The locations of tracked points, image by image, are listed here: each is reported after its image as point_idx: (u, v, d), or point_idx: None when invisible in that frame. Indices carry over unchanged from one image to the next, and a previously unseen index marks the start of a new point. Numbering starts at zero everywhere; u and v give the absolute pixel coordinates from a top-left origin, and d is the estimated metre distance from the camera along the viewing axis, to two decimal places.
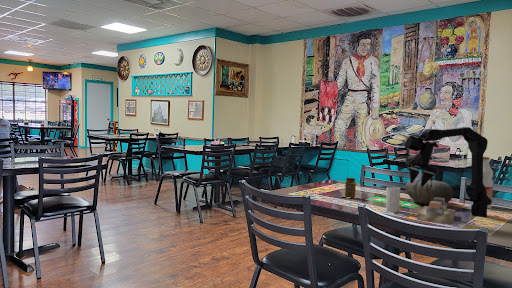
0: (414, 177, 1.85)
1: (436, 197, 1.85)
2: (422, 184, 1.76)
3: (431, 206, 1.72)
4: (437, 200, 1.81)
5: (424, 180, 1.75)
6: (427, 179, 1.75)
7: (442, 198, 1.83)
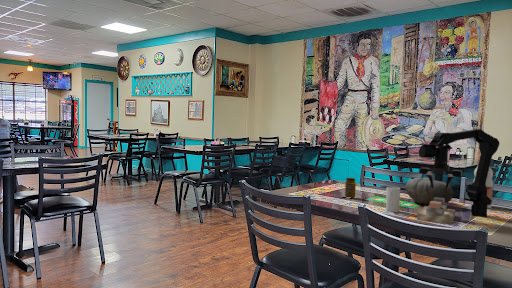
0: (433, 182, 1.85)
1: (436, 197, 1.85)
2: None
3: (431, 206, 1.72)
4: (437, 200, 1.81)
5: (448, 184, 1.80)
6: None
7: (442, 198, 1.83)
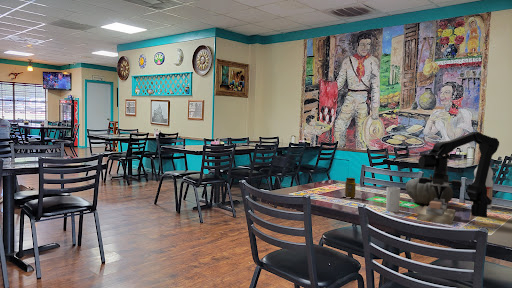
0: None
1: (436, 198, 1.85)
2: (440, 197, 1.82)
3: (431, 206, 1.72)
4: (437, 201, 1.81)
5: (441, 193, 1.82)
6: None
7: (442, 199, 1.83)
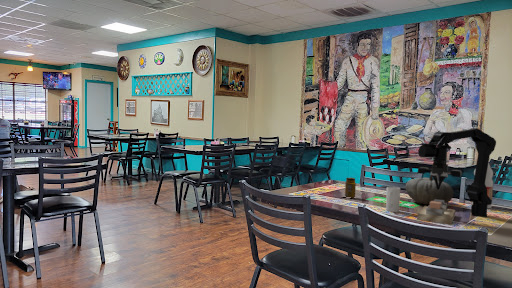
0: (438, 182, 1.81)
1: (436, 199, 1.85)
2: (439, 187, 1.80)
3: (431, 206, 1.72)
4: None
5: (441, 183, 1.79)
6: (442, 181, 1.80)
7: (442, 200, 1.83)
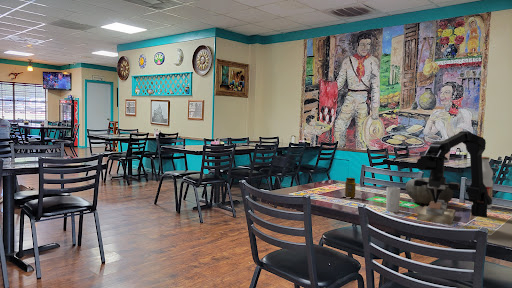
0: (435, 195, 1.73)
1: None
2: None
3: (431, 206, 1.72)
4: None
5: None
6: (439, 194, 1.73)
7: (442, 200, 1.83)
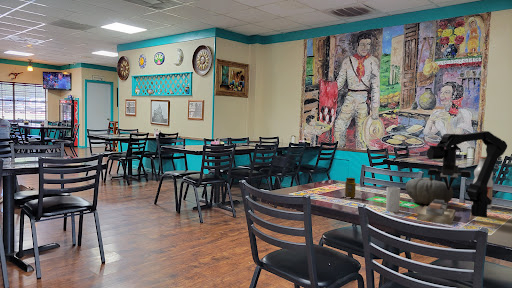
0: (448, 183, 1.84)
1: (436, 199, 1.85)
2: None
3: None
4: (437, 202, 1.81)
5: (451, 184, 1.82)
6: (452, 182, 1.83)
7: (442, 200, 1.83)
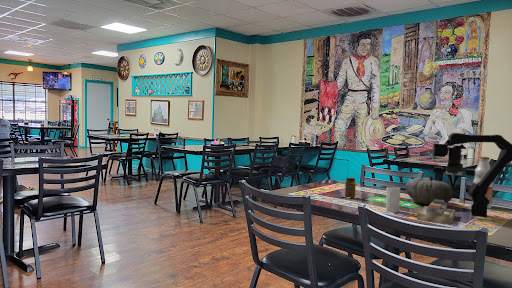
0: None
1: (436, 199, 1.85)
2: (454, 186, 1.87)
3: None
4: (437, 202, 1.81)
5: (455, 182, 1.87)
6: (456, 180, 1.88)
7: (442, 200, 1.83)
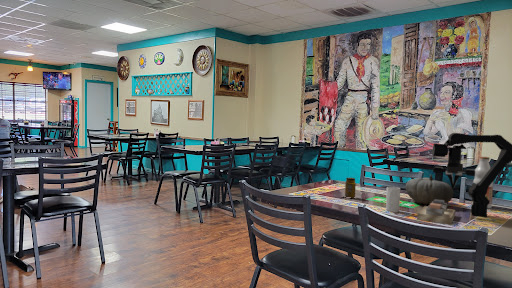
0: None
1: (436, 199, 1.85)
2: (454, 186, 1.87)
3: None
4: (437, 202, 1.81)
5: (455, 182, 1.87)
6: (456, 180, 1.88)
7: (442, 200, 1.83)
